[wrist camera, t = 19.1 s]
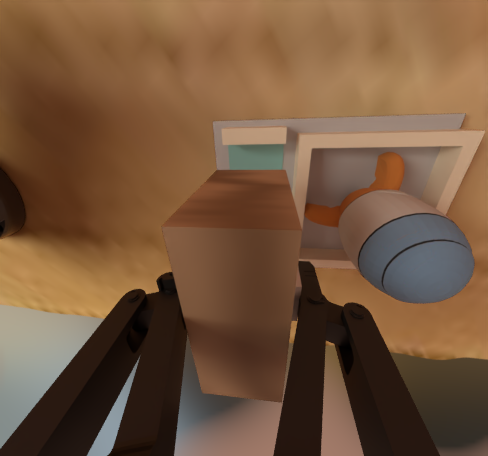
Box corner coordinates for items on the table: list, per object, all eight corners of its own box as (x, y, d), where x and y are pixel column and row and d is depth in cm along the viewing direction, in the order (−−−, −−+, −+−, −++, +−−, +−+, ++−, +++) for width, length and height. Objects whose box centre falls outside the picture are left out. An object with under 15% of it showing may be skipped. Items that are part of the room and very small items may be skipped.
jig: (226, 255, 31) (220, 273, 28) (214, 121, 23) (204, 122, 19) (399, 262, 29) (417, 283, 25) (459, 113, 20) (499, 113, 17)
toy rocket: (370, 133, 22) (595, 178, 9) (398, 204, 27) (566, 297, 14) (288, 194, 24) (371, 297, 11) (327, 248, 29) (415, 362, 16)
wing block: (227, 289, 21) (202, 392, 13) (217, 169, 15) (161, 226, 8) (277, 292, 21) (281, 402, 13) (285, 169, 15) (302, 230, 7)
